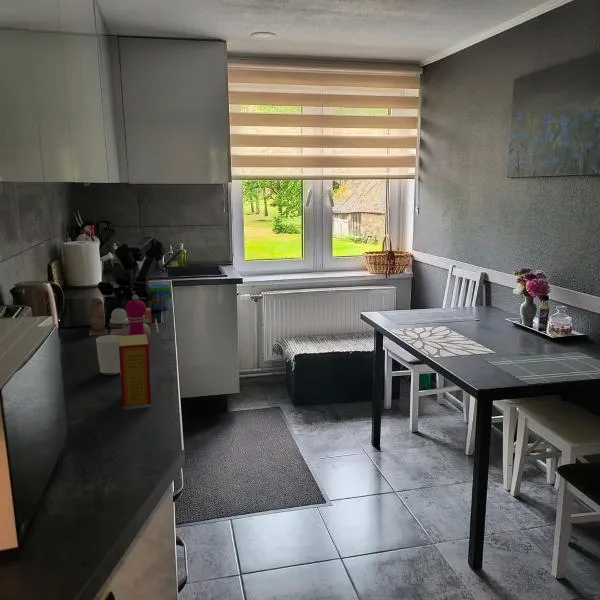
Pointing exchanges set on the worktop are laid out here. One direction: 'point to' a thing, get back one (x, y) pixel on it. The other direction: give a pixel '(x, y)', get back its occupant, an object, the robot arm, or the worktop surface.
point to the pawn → (97, 316)
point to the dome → (119, 316)
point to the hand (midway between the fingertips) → (118, 307)
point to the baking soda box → (134, 370)
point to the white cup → (108, 353)
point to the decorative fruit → (127, 328)
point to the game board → (114, 331)
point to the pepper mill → (136, 316)
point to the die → (148, 315)
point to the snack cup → (159, 296)
